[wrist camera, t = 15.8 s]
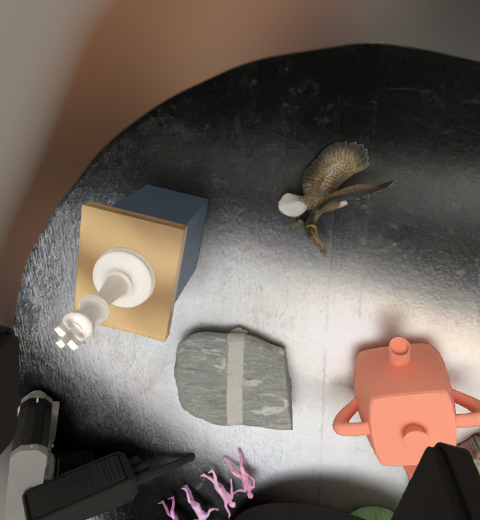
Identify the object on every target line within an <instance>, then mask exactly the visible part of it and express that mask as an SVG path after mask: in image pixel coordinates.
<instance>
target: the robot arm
mask: <svg viewBox="0 0 480 520" xmlns="http://www.w3.org/2000/svg"><path fill="white" fill-rule="evenodd" d="M18 379H19V338H18V337H17V336H14V332H13V330H12V329H11V328H9V327H5V326H1V325H0V454H1V453H2V452H3V451H4V450H5V449H6V447H7V446H8V445H9V444H10V443H11V441H12V440H13V438H14V436H15V433H16V430H17V425H18ZM391 520H480V474H479V472H478V469H477V467H476V465H475V463H474V460H473V458H472V456H471V454H470V452H469V451H468V450H467V449H465V448H461V447H458V446H454V445H450V444H446V443H442V442H438V443H436V444H435V446H434V447H430V446H428V447H427V448H426V449H425V451H424V453H423V455H422V457H421V459H420V461H419V463H418V465H417V467H416V469H415V471H414V473H413V476H412V478H411V480H410V482H409V484H408V486H407V488H406V490H405V492H404V494H403V496H402V498H401V500H400V502H399V504H398V506H397V508H396V510H395V512H394V514H393V516H392V518H391Z"/></svg>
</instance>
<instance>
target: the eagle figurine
mask: <svg viewBox="0 0 480 520" xmlns="http://www.w3.org/2000/svg"><path fill="white" fill-rule="evenodd" d="M366 154H367V149H366V148H364V145H362V144H359V145H357V143H356V142H351V143H349V144H347V142H346V141H344V142H342V143H341V142H336V143H333V144H332V145H329V146H328V147H327V148H325V149H324V150H323V152H322V153H320V155H318V157H317V159H315V160H314V162H313V163H312V164H311V166H309V167H308V168H307V169H306V170H305V172H304V174H303V177H302V178H301V180H302V182H301V184H302V185H303V186H302V188H303V189H304V191H303V194H304V196H299V195H294V194H290V193H287V194H285V195H283V197H282V198H281V200H280V201H279V202H278V204H279V205H278V208H279V210H280V211H281V212H282V213H283V214H285V215H287V216H290V219H291V220H293V221H296V223H294V224H292V225H291V226H290V229H293V228H295V227H297V226H302V227H304V226H305V228H306V230H307V234H308V239H309V240H313V241H314V243H315V244H316V245H317V246H318V248H319V249H320V251H321V253H322V254H323V255H324V257H326V256H327V252H326V248H325V247H324V245H323V244H322V243H321V240H320V239H319V238H318V235H317V228H316V225H317V223H318V218H319V217H320V215H322V214H323V213H324V212H326V211H333V210H335V209H337V208H340V207H343V206H346V205H347V201H350V200H359V199H364V198H365V197H368V196H370V195H373V194H376V193H378V192H381V191H384V190H386V189H387V188H389V187H390V186H391V185H393V184H394V183H396V181H390V182H387V183H384V184H380V185H371V184H357V185H353V186H349V187H346V188H343V189H340V190H338V191H337V189H338V188H339V187H340V185H341V184H342V183H343V182H344V181H346V180H347V179H348V178H349V177H351V176H352V175H353V174H355V173H358V172H360V171H361V170H363V169H365V168H366V167H368V166H369V162H368V159H369V156H368V155H366ZM346 200H347V201H346ZM302 213H303V214H302ZM298 216H300V217H298Z"/></svg>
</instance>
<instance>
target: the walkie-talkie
mask: <svg viewBox="0 0 480 520" xmlns="http://www.w3.org/2000/svg"><path fill="white" fill-rule="evenodd" d="M194 458H195V456H194V455H193V454H190V455H188V456H186V457H183V458H180V459H178V460H175V461H172V462H170V463H167V464H165V465H162V466H159V467H157V468H153V469H150V470H147V469H149V463H148V462H143V463H141V460H140V457H139V456H135V457H132V458H131V459H127V457H126V455H125V453H123V452H120V451H117V452H114V453H112V454H109V455H107V456H104V457H102V458H100V459H97V460H95V461H92V462H90V463H89V464H85V465H82V466H80V467H78V468H75V469H73V470H70V471H68V472H66V473H64V474H61V475H59V476H57V477H55V478H53V479H51V480H48V481H46V482H44V483H43V484H40V485H37V486H35V487H33V488H31V489H29V490H27V491H25V492H24V493H23V495H22V501H23V507H24V512H25V518H26V520H86V519H89V518H92V517H94V516H97V515H100V514H102V513H105V512H108V511H110V510H113V509H115V508H117V507H120V506H122V505H124V504H126V503H129V502H131V501H133V500H134V497H135V496H136V494H137V493H138V490H137V486H139V485H140V484H141V483H142V484H145V483H146V482H148V481H150V480H152V479H154V478H156V477H157V476H159V475H162V474H164V473H166V472H168V471H170V470H172V469H175V468H177V467H179V466H181V465H184V464H186V463H187V462H190V461H193V460H194ZM145 470H147V471H145ZM143 471H144V472H143ZM140 472H141V473H140ZM138 473H140V474H139V475H136V474H138Z"/></svg>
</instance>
